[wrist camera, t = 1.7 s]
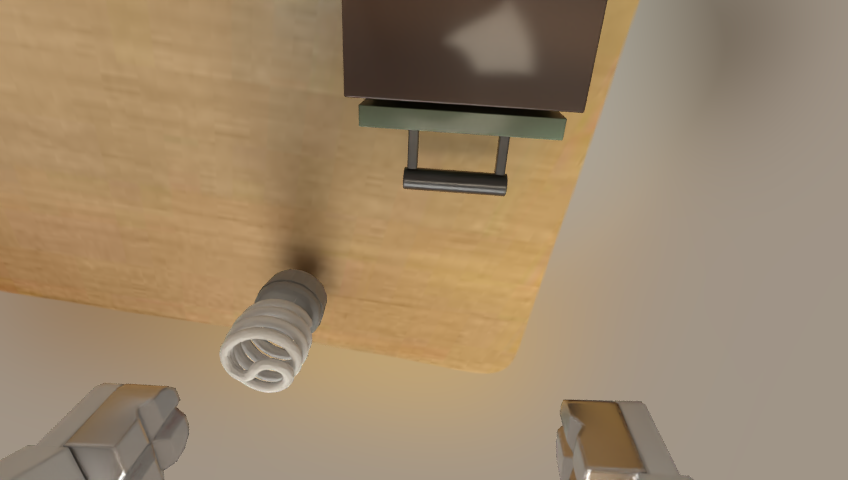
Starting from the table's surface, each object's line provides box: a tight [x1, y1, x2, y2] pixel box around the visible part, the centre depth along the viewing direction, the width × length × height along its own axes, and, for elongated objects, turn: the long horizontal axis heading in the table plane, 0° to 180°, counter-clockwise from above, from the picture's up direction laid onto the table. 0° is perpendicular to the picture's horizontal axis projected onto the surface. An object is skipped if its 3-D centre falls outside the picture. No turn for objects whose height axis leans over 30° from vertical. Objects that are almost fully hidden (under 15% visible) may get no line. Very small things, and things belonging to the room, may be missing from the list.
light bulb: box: [220, 269, 327, 392], centre depth 35 cm, size 6×6×12 cm
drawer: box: [359, 98, 567, 196], centre depth 26 cm, size 19×11×7 cm, turn 177°
